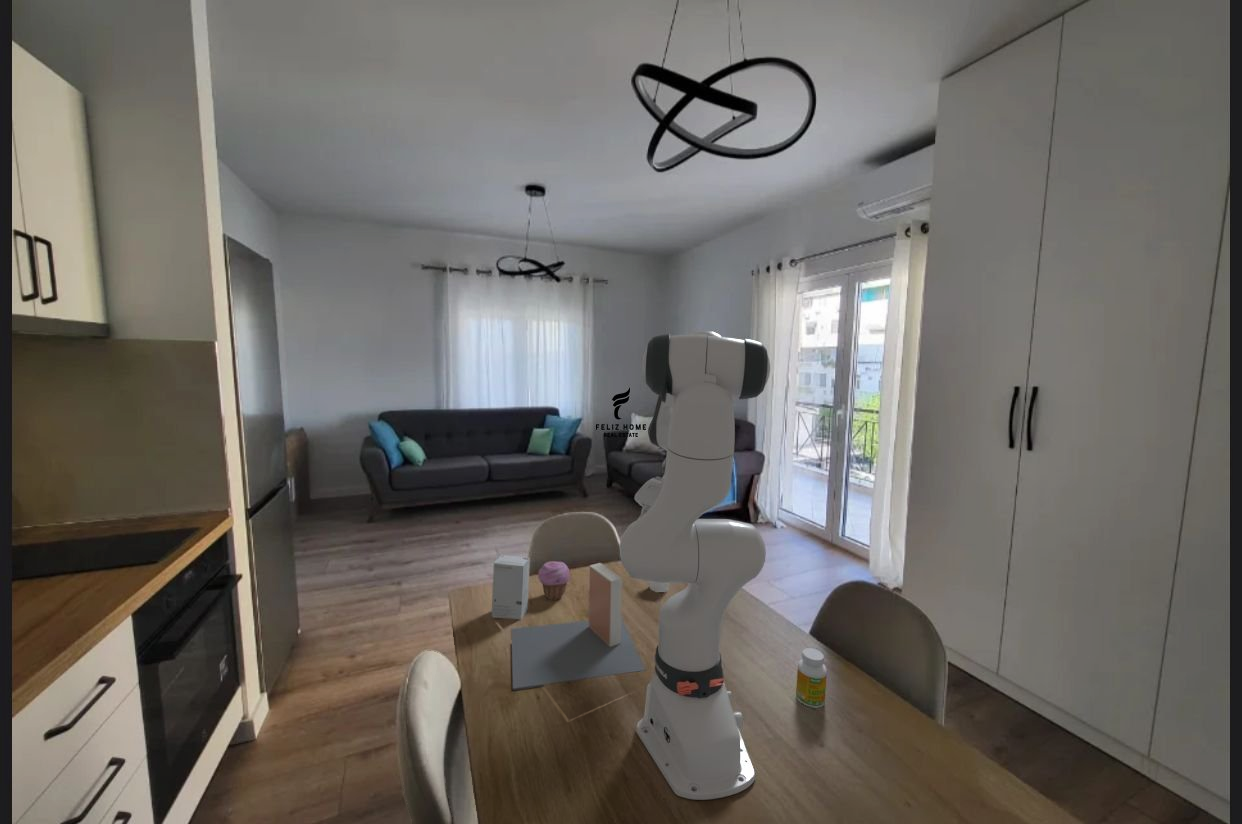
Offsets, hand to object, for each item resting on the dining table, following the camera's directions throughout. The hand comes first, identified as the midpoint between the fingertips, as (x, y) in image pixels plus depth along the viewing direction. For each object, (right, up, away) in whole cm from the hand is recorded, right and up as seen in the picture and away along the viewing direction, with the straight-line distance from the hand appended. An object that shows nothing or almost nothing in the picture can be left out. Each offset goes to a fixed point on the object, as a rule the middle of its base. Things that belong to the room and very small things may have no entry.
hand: (647, 526), depth 120 cm
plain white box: (-11, -25, -4) cm, 28 cm away
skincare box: (-36, -24, +5) cm, 44 cm away
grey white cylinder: (+5, -24, +21) cm, 32 cm away
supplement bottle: (+31, -29, -25) cm, 49 cm away
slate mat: (-18, -26, -10) cm, 33 cm away
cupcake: (-26, -24, +15) cm, 38 cm away
